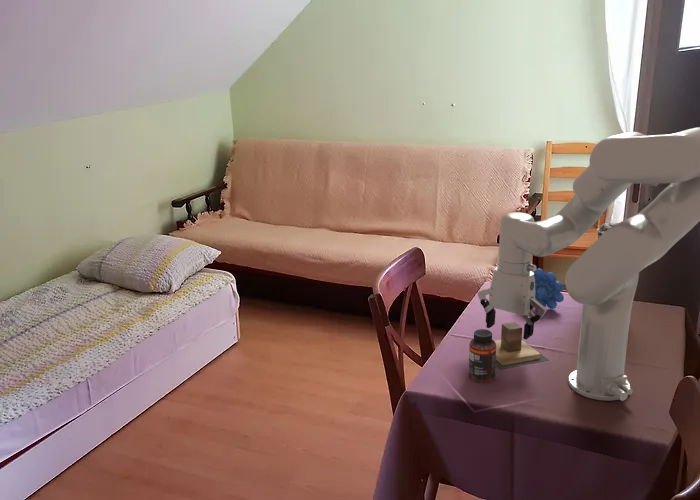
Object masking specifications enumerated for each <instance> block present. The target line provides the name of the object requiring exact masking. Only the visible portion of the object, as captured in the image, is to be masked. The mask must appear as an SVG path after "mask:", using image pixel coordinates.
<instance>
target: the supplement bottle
mask: <svg viewBox="0 0 700 500" xmlns="http://www.w3.org/2000/svg"><path fill="white" fill-rule="evenodd" d="M495 341H496V340H494V339H493V333H492V331H491V330H489V329H483V328H479V329H476V330H475V331H474V332H473V338H472V339H470V341H469V346H468V347H469V351H468V353H469V357H468V377H469V379H470V380H471V381H474V382H476V383H481V384H487V383H490V382H493V381H494V380H495V378H496V370H497V368H496V367H497V366H496V343H495Z"/></svg>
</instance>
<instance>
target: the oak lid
mask: <svg viewBox="0 0 700 500" xmlns="http://www.w3.org/2000/svg"><path fill="white" fill-rule="evenodd" d="M500 337H501V338H500V339H498V340H494V341H495V343H496V360H497V361H498V362H500V363H501V364H502V365H507V364H513V363H518V362H523V361H529V360H534V359H540V353H541V352H539V351H538V350H537V349H535V348H534V347H533V346H531V345H530V344H529V343H528V344H529V345H528V344H527V342H526V341H525V340H524V339H523V326H521V325H519V323H518V322H516V321H511V322H506V323H502V324H501V336H500ZM523 340H524V341H525V342H524V341H523ZM532 347H533V348H534V349H533V348H532ZM536 350H537V351H538V352H537V351H536Z"/></svg>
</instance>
